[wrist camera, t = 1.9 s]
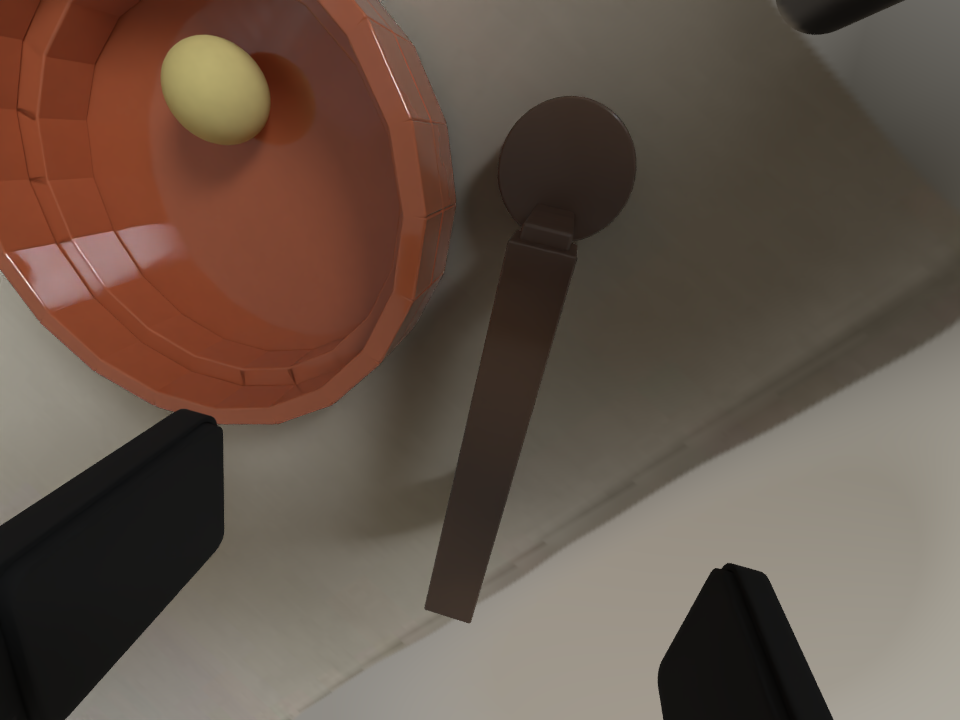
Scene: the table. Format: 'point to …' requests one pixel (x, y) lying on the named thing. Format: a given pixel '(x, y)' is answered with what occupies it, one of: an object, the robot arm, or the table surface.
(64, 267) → the bowl
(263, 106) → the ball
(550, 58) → the table surface
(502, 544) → the table surface
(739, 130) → the table surface
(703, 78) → the table surface
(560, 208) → the ladle
